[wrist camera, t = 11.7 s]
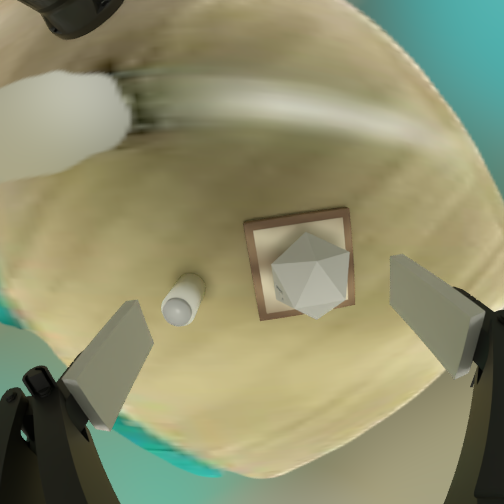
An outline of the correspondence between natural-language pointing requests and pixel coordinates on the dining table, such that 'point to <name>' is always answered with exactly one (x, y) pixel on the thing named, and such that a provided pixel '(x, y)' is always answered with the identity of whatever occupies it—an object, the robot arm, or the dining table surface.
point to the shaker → (183, 300)
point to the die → (311, 276)
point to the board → (280, 239)
